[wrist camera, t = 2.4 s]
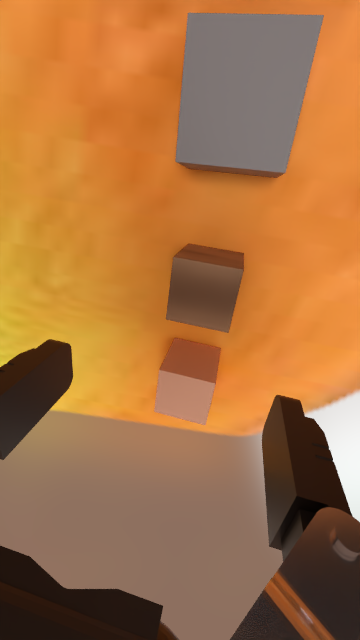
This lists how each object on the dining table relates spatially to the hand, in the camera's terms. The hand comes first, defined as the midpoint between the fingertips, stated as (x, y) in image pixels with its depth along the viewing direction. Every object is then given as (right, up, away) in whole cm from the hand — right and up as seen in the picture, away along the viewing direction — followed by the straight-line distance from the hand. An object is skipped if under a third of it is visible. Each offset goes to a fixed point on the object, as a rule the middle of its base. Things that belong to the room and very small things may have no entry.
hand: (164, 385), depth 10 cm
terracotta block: (+2, -2, +19) cm, 20 cm away
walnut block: (+3, +7, +15) cm, 17 cm away
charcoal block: (+5, +17, +10) cm, 21 cm away
